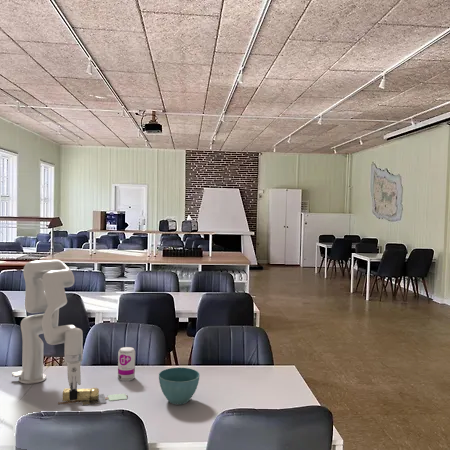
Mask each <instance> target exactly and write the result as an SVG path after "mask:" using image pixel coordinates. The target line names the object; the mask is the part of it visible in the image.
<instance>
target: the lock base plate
mask: <svg viewBox="0 0 450 450" xmlns="http://www.w3.org/2000/svg"><path fill="white" fill-rule="evenodd" d="M81 404H82V406H93V405H101V404H107V400H105V394H104V393H99V399H98V400H95V401H91V400H82V402H81Z"/></svg>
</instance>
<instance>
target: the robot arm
mask: <svg viewBox="0 0 450 450" xmlns="http://www.w3.org/2000/svg"><path fill="white" fill-rule="evenodd" d="M22 272H23V273H22V274H23V279H24V281H25V297H24V298H25V299H24V300H25V301H24V307H25V311H26V312H27V313H30V314H32V315H28V316H25V317H24V318H22V320H21V321H20V330H21V338H22V347H21V348H22V350H21V351H22V352H21V353H22V356H21V357H22V361H21V362H22V363H21V365H22V366H21V367H22V368H21V370H19V371H12V372H11V377H14V378H18V382H19V383H21V384H27V385H28V384H29V385H30V384H31V385H32V384H38V383H39V384H40V383H41V382H43V381H45V380H46V379H47V375H46V374H45V373H44V341H43V340H42V339H41V337H40V336H39V335H43V337H44V339H45V342H46V344H48V345H51V346H53V345H54V346H55V345H60V344H64V358H63V359H64V360H63V361H64V363H66V364H67V366H66V367H67V382H68V385H69V388H70V390H69V399H70V400H72V401H75V400H76V399H77V389H78V385H79V386H80V385H81V384H82V383H81V382H82V381H81V380H82V379H81V372H82V371H81V362H83V357H84V356H83V355H84V354H83V353H84V352H83V351H84V349H83V343H84V342H83V339H84V338H83V333H84V332H83V330H82V328H79V327H77V326H75V325H74V324H65V325H59V317H60V316H59V314H60V308H63V307H64V306H66V305H67V303H68V299H67V295H66V290H65V288H70V287H73V285H74V284H75V275H74V273H73V271H72V270H71V268H70V267H69V266H68V265H66V264H65V263H64V262H63V261H62V260H60V259H46V260H45V259H43V260H42V259H40V260H32V261H31V260H30V261H28V262H26V264H25V265H24V266H23V271H22ZM38 313H39V314H38Z"/></svg>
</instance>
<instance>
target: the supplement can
mask: <svg viewBox="0 0 450 450" xmlns="http://www.w3.org/2000/svg"><path fill="white" fill-rule="evenodd" d="M117 359H118V360H117V362H118V363H117V378H118V380H120V381H123V382H130V381H132V380H133V379H134V378H135V377H136V375H135V373H136V370H135V369H136V351H135V348H134V347H131V346H122V347H120V348H119V350H118V355H117Z"/></svg>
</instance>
